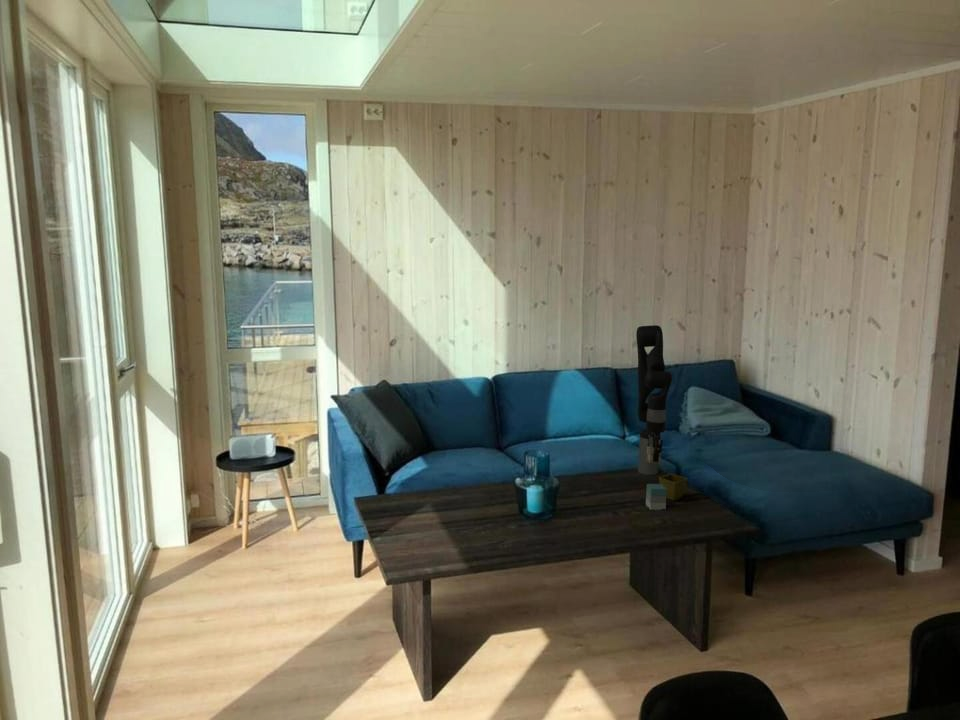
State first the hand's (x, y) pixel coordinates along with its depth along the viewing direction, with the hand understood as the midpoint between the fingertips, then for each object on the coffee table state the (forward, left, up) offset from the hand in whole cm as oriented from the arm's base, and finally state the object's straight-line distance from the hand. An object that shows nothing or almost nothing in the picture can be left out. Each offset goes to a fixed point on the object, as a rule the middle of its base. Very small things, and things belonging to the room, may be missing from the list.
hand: (653, 459), depth 315 cm
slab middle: (+1, +2, -17) cm, 17 cm away
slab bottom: (+1, +2, -20) cm, 20 cm away
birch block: (0, 0, -1) cm, 1 cm away
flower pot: (-9, +12, -20) cm, 25 cm away
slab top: (+1, +2, -14) cm, 14 cm away
